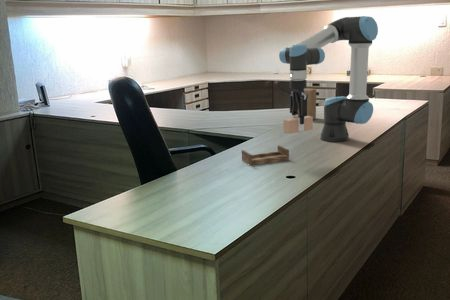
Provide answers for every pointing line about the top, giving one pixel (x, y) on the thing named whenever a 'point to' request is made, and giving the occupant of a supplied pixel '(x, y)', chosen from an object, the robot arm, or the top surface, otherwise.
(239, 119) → the top surface
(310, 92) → the wooden block
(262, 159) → the rack
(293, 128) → the pink rectangular block
